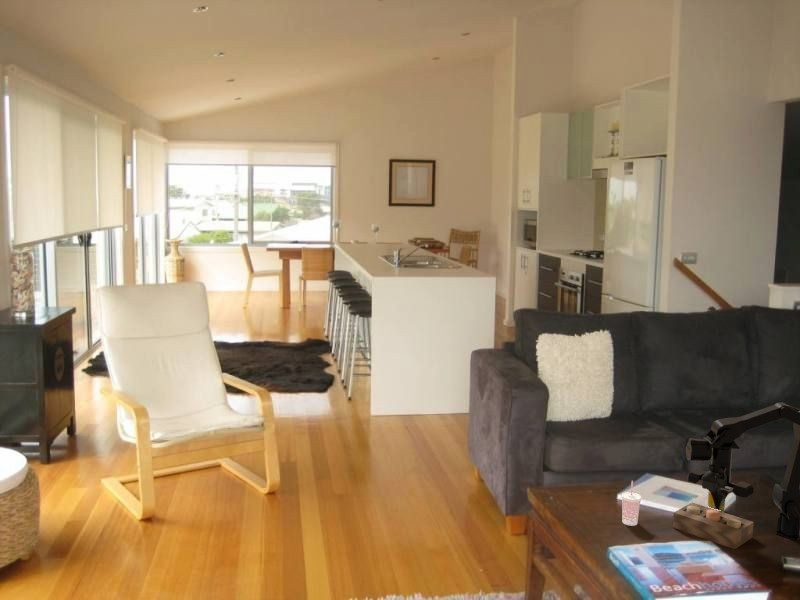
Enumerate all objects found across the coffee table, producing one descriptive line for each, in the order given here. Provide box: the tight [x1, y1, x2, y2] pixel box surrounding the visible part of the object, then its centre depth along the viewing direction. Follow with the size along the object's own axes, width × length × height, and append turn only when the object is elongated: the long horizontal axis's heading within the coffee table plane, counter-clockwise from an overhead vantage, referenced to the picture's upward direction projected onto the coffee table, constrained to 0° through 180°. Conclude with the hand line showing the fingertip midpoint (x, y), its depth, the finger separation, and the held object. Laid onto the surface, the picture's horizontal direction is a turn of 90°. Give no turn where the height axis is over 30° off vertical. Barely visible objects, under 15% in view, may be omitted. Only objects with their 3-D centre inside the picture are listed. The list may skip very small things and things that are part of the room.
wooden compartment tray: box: [672, 502, 754, 550], centre depth 250 cm, size 20×12×5 cm, turn 43°
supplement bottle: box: [707, 490, 726, 513], centre depth 267 cm, size 5×5×10 cm
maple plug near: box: [726, 519, 741, 529], centre depth 246 cm, size 4×4×5 cm
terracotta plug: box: [706, 510, 720, 522], centre depth 250 cm, size 4×4×5 cm
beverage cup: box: [621, 480, 642, 527], centre depth 256 cm, size 6×6×14 cm
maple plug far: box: [687, 506, 700, 515], centre depth 255 cm, size 4×4×5 cm
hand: (717, 509), depth 250 cm, fingers closed
